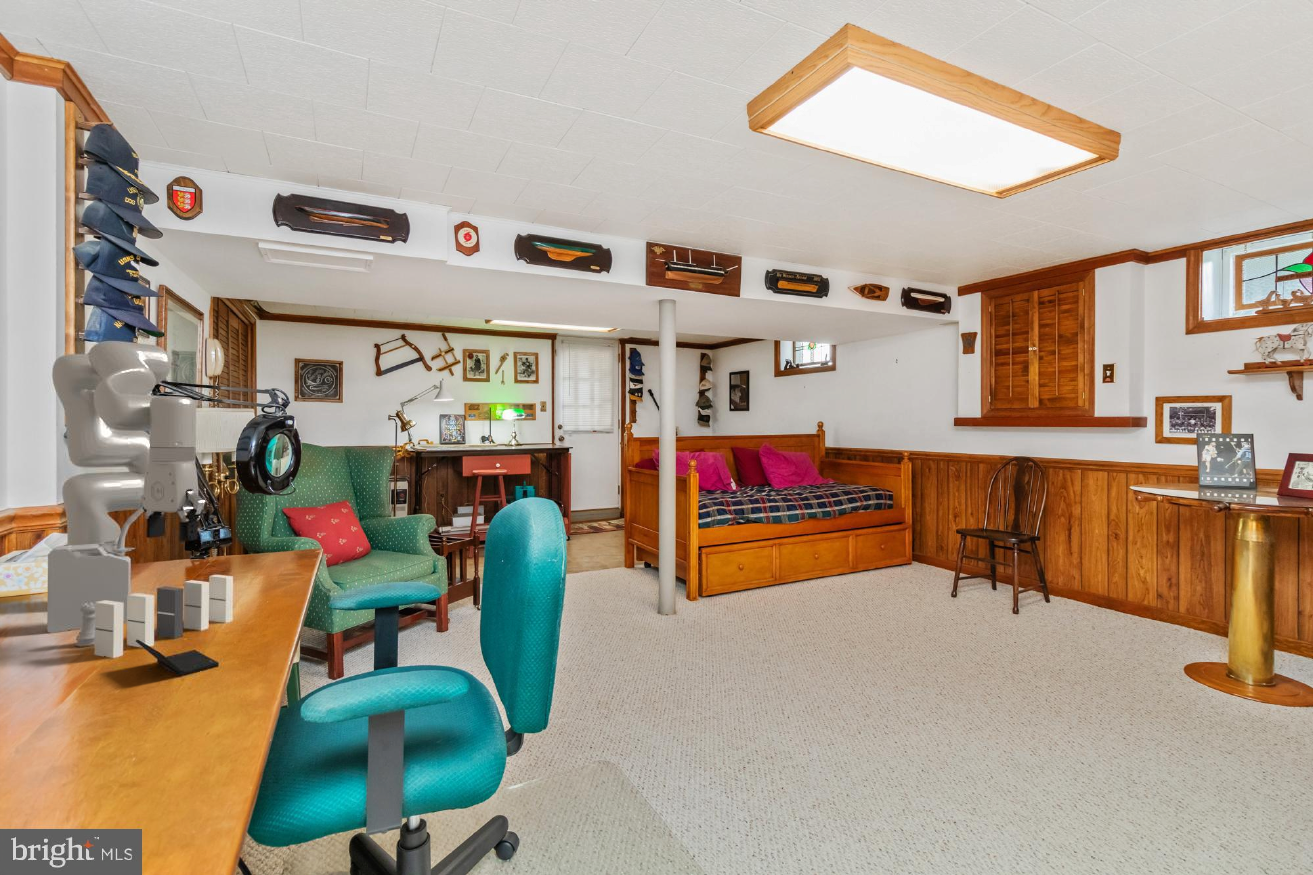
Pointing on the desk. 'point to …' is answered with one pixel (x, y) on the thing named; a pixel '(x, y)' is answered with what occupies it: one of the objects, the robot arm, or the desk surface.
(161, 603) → the domino
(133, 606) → the domino
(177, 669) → the handheld gaming console
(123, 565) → the fuel canister
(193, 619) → the domino
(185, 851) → the desk surface
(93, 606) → the rook chess piece
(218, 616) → the domino
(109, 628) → the domino
